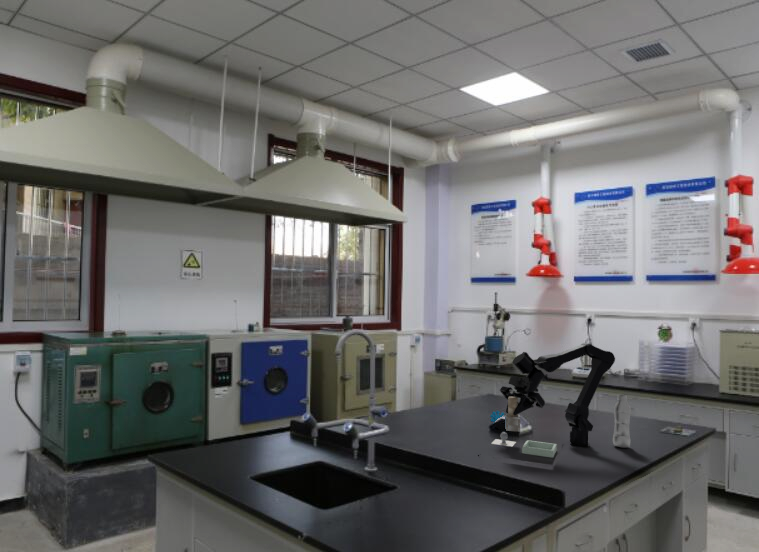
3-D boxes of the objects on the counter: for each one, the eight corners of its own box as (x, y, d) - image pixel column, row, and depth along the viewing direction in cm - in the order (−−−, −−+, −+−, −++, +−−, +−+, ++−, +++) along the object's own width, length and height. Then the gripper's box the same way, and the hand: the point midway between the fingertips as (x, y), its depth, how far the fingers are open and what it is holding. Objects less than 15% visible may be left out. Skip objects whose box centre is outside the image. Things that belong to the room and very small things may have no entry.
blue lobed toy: (495, 428, 236) (488, 408, 243) (488, 436, 240) (482, 416, 247) (517, 431, 240) (510, 411, 247) (510, 438, 243) (504, 418, 251)
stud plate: (516, 445, 215) (516, 431, 216) (512, 450, 208) (512, 435, 208) (495, 442, 219) (495, 428, 219) (490, 447, 211) (491, 433, 211)
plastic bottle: (609, 446, 219) (610, 395, 220) (616, 444, 224) (617, 393, 225) (626, 450, 215) (627, 397, 216) (633, 447, 220) (634, 396, 221)
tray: (556, 454, 205) (556, 444, 205) (553, 461, 195) (553, 450, 195) (526, 450, 209) (527, 440, 209) (522, 457, 199) (522, 446, 200)
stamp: (519, 428, 213) (519, 396, 214) (520, 431, 208) (520, 398, 208) (505, 427, 214) (505, 395, 215) (505, 430, 209) (506, 398, 209)
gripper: (503, 365, 222) (482, 395, 216) (540, 371, 206) (517, 403, 200) (517, 384, 226) (496, 414, 220) (554, 391, 210) (533, 424, 204)
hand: (510, 413), depth 211 cm, fingers closed on stamp, 3 cm apart
